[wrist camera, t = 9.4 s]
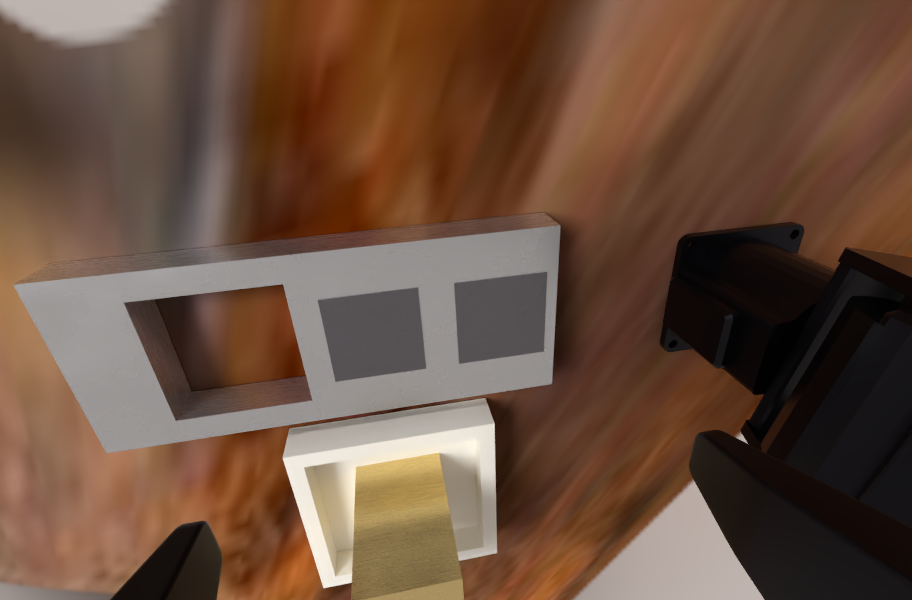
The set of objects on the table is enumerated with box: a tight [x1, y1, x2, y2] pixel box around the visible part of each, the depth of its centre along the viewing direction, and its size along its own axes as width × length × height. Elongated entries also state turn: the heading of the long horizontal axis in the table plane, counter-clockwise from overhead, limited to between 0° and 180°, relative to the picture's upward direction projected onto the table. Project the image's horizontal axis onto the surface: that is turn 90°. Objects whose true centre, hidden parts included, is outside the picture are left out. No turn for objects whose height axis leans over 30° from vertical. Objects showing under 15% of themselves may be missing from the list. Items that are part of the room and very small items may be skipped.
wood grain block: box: [351, 453, 464, 600], centre depth 22 cm, size 4×4×7 cm
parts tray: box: [283, 398, 497, 588], centre depth 25 cm, size 10×10×2 cm
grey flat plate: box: [14, 212, 561, 453], centre depth 20 cm, size 20×8×2 cm, turn 93°
